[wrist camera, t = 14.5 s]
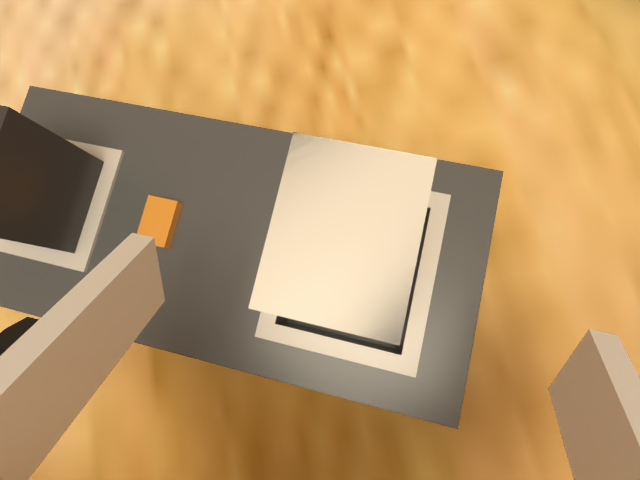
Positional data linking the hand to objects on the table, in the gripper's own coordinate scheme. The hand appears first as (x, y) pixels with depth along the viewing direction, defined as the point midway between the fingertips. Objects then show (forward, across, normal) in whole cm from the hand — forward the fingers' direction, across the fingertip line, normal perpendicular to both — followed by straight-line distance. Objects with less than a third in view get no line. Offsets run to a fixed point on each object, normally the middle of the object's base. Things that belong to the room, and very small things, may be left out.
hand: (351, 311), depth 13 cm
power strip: (+9, -7, -6) cm, 13 cm away
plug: (+8, 0, -5) cm, 10 cm away
